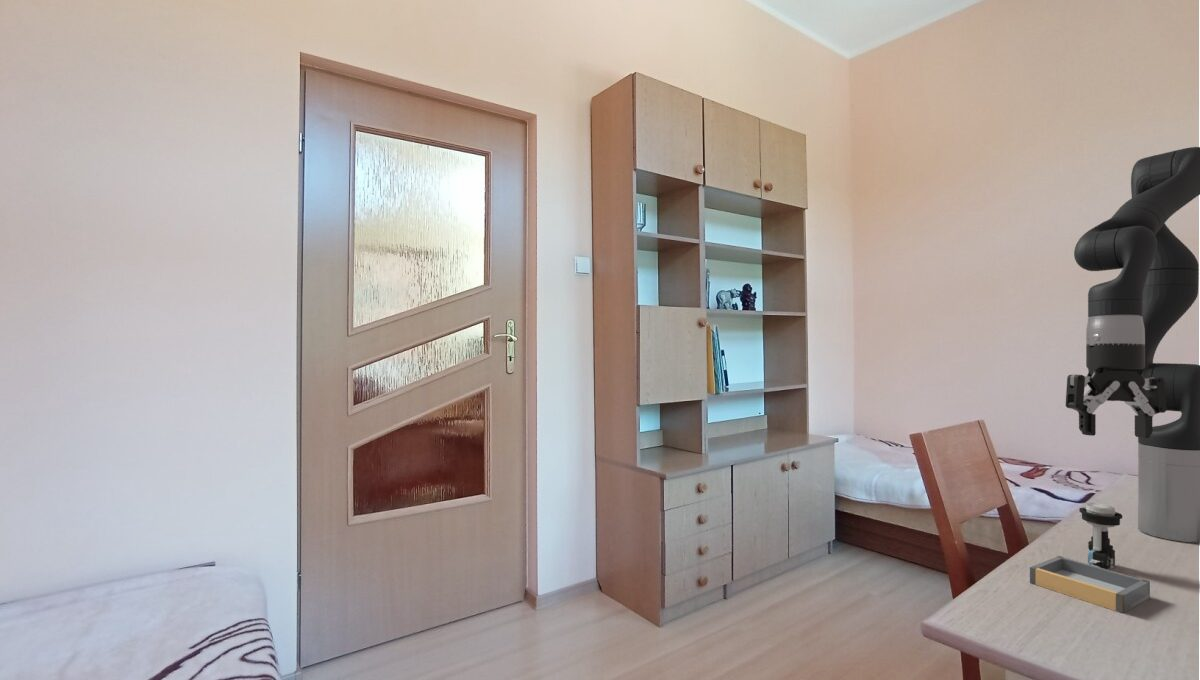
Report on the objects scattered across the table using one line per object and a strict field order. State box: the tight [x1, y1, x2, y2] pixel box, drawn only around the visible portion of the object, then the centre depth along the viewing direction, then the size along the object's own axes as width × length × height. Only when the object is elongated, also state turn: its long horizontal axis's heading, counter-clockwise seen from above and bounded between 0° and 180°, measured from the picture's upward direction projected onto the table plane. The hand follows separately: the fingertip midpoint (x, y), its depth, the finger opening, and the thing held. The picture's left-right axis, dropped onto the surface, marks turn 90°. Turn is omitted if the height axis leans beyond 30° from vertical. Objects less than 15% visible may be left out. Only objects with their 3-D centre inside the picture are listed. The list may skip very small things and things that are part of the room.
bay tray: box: [1029, 555, 1151, 614], centre depth 84 cm, size 10×11×2 cm
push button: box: [1078, 502, 1123, 570], centre depth 92 cm, size 7×5×10 cm
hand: (1115, 436), depth 96 cm, fingers open, 8 cm apart
